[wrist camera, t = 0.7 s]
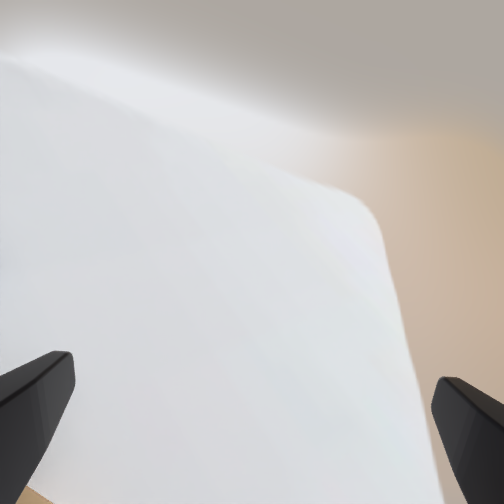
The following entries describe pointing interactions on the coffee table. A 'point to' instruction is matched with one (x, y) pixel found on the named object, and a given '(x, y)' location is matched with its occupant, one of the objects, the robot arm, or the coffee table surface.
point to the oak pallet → (31, 497)
